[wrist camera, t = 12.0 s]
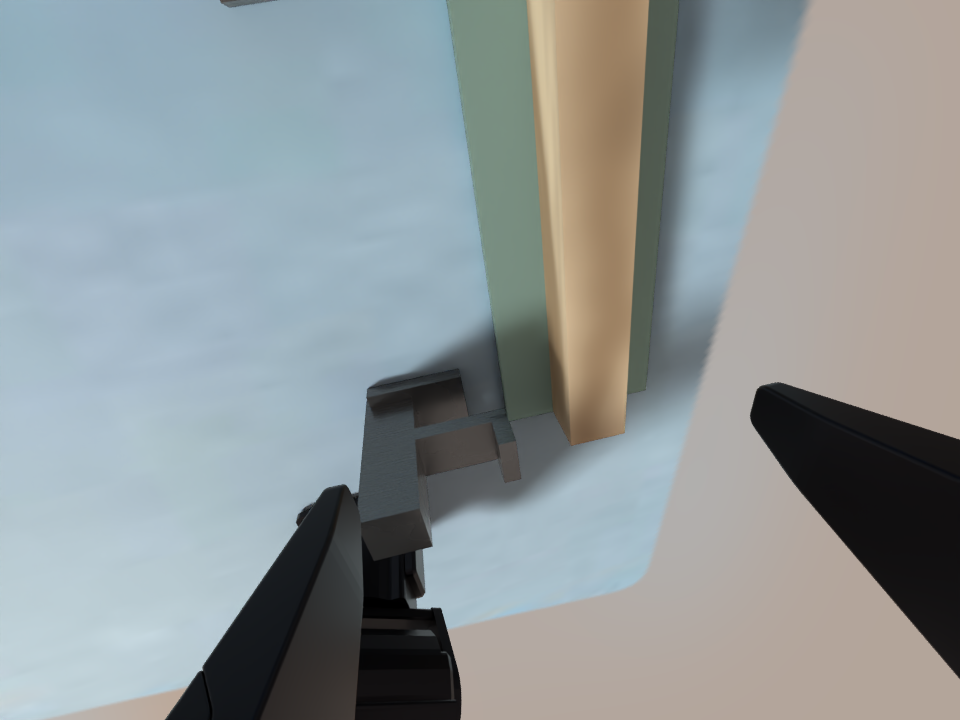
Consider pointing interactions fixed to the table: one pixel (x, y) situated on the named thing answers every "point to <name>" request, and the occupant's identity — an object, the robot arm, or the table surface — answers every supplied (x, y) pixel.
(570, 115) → the rail
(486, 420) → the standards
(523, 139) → the mat
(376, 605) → the robot arm
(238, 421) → the table surface
